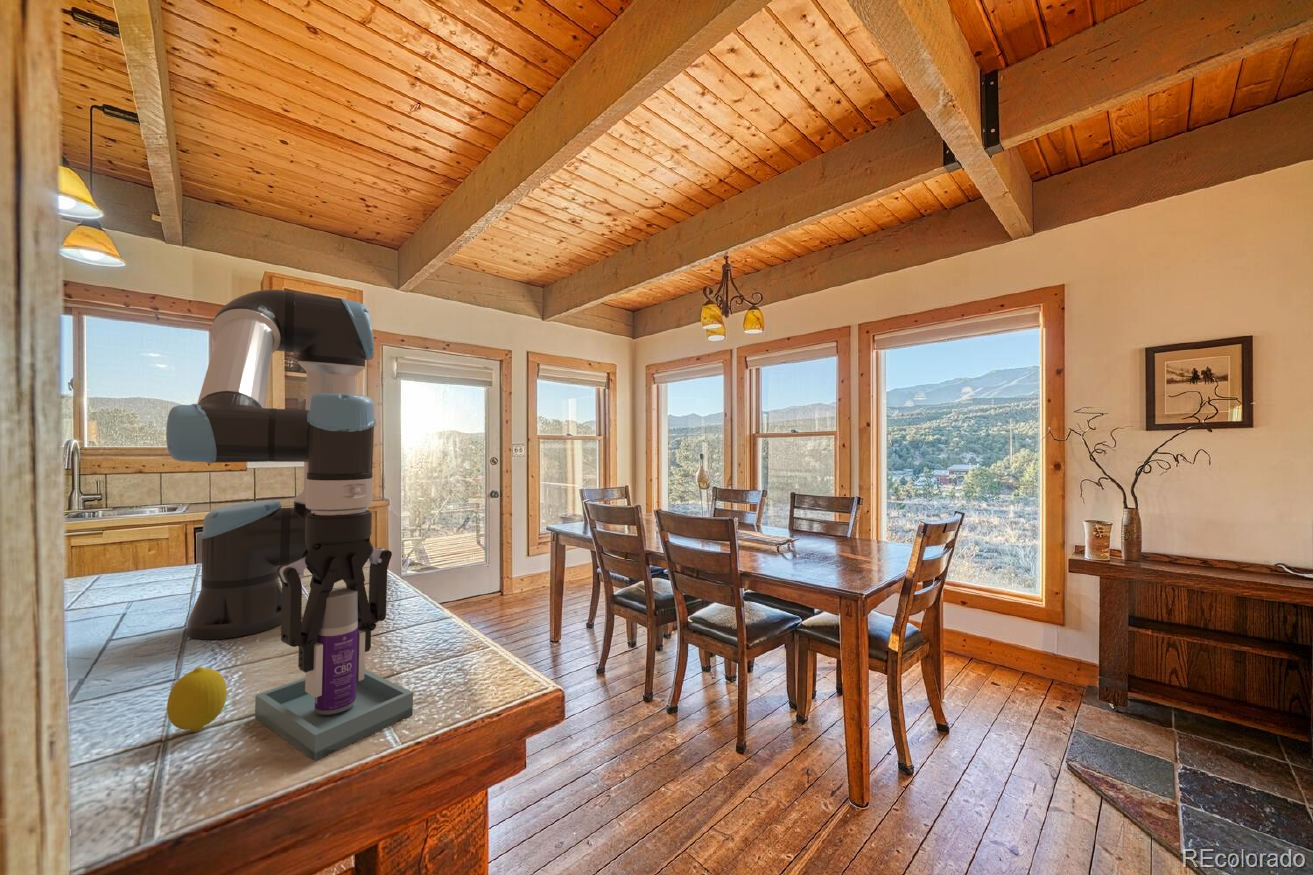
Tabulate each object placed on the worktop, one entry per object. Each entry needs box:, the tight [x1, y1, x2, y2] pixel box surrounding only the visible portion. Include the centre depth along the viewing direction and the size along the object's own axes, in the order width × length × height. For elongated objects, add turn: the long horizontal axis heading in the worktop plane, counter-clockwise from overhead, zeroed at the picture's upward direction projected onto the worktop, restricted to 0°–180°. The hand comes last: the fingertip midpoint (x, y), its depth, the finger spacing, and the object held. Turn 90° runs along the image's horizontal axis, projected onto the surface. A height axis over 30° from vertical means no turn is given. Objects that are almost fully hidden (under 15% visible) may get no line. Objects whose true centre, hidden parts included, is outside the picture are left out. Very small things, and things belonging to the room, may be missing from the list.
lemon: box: [166, 666, 228, 733], centre depth 64 cm, size 6×6×8 cm
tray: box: [254, 668, 414, 762], centre depth 68 cm, size 16×12×3 cm
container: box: [315, 587, 358, 715], centre depth 68 cm, size 5×5×15 cm
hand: (335, 684), depth 68 cm, fingers closed on container, 5 cm apart
